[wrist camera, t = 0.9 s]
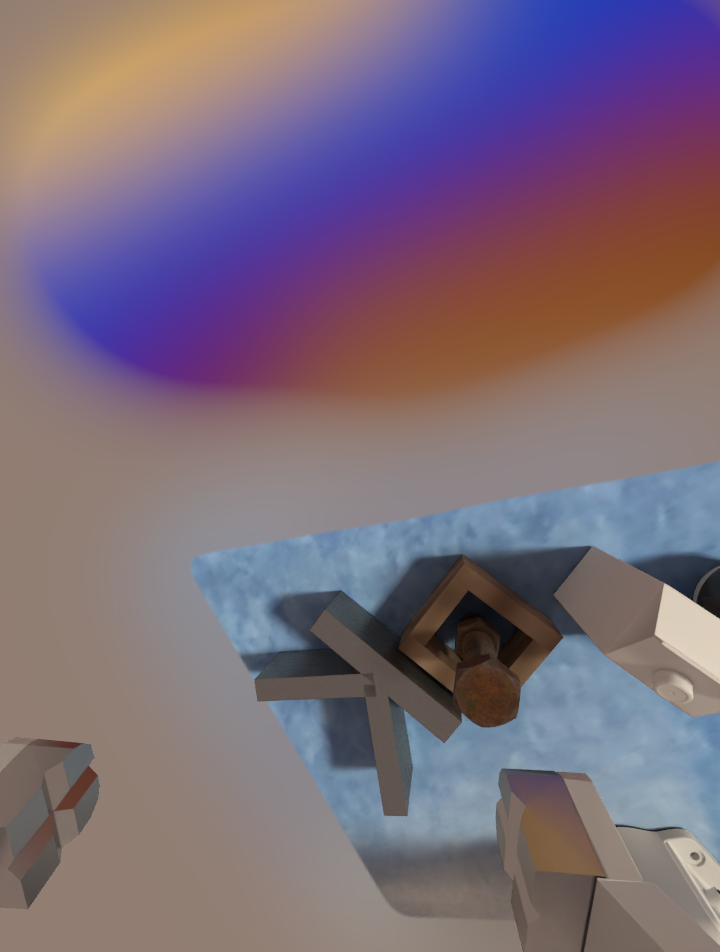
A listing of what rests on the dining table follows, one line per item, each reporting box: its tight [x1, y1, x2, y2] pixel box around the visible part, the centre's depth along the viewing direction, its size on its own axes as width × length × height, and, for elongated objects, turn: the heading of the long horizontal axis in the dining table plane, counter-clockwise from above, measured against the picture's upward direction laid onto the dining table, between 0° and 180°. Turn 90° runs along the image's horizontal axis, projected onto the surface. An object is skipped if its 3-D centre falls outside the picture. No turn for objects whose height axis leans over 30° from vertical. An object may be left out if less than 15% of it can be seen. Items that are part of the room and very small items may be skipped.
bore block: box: [399, 554, 563, 692], centre depth 44 cm, size 12×12×5 cm
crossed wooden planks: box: [254, 591, 462, 816], centre depth 46 cm, size 22×14×7 cm, turn 54°
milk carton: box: [554, 546, 720, 717], centre depth 34 cm, size 7×7×19 cm
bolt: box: [453, 613, 521, 727], centre depth 39 cm, size 6×5×15 cm
